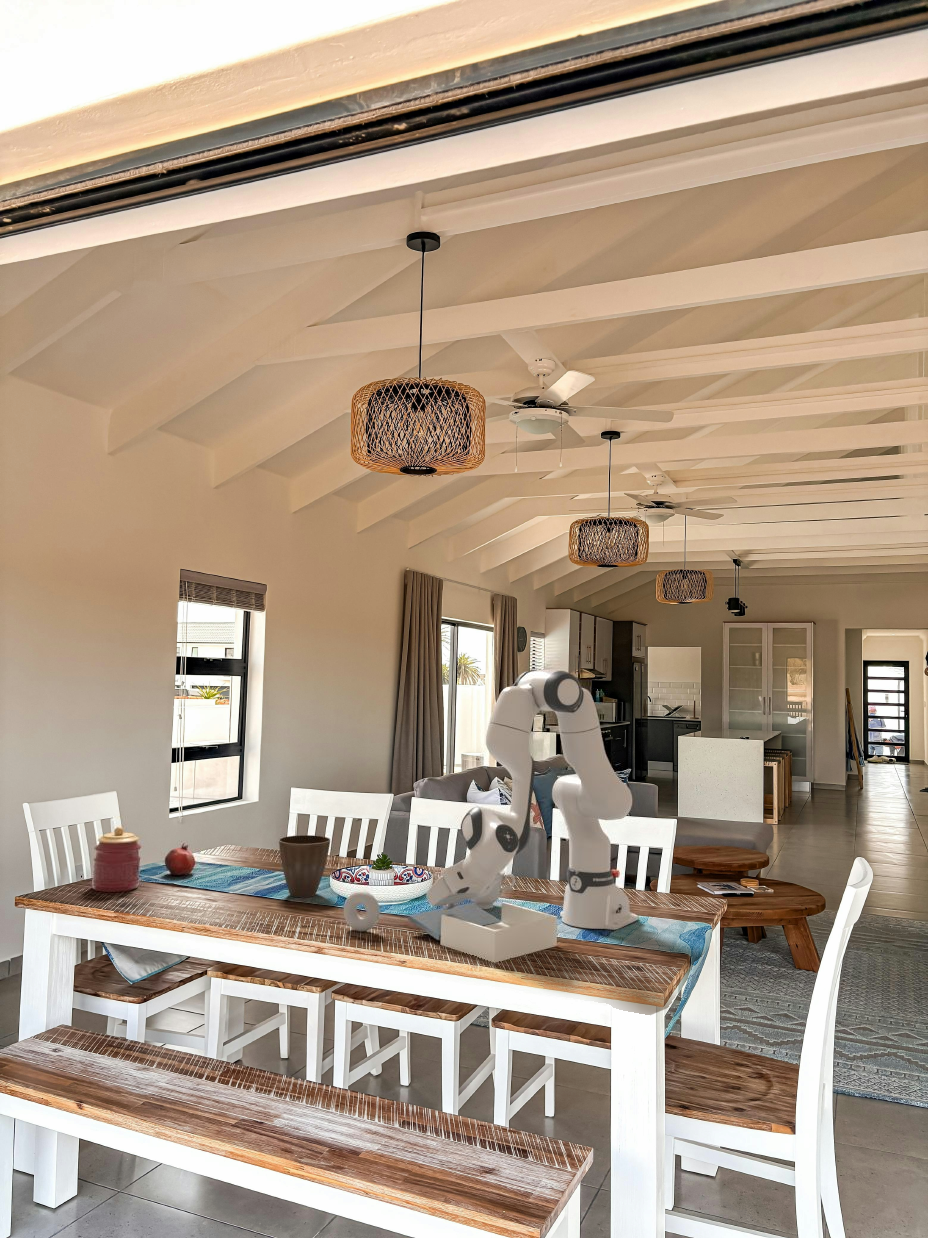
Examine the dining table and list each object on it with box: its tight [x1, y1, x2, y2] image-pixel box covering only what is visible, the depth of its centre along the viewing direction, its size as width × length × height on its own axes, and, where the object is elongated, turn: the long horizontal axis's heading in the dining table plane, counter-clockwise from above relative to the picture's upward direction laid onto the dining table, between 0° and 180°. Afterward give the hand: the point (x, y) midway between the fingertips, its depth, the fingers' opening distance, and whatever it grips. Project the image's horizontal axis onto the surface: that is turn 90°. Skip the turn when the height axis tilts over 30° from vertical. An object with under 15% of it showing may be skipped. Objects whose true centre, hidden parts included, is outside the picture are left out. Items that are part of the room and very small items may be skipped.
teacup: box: [470, 869, 516, 910], centre depth 253 cm, size 12×15×10 cm
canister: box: [91, 826, 142, 893], centre depth 262 cm, size 13×13×18 cm
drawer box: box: [440, 901, 558, 964], centre depth 216 cm, size 18×22×7 cm
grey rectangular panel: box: [407, 902, 501, 941], centre depth 227 cm, size 2×22×12 cm
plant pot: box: [278, 834, 331, 898], centre depth 261 cm, size 15×15×16 cm
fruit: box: [164, 843, 196, 877], centre depth 282 cm, size 9×10×10 cm
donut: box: [343, 890, 381, 932], centre depth 224 cm, size 10×4×10 cm, turn 67°
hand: (447, 907), depth 230 cm, fingers closed
